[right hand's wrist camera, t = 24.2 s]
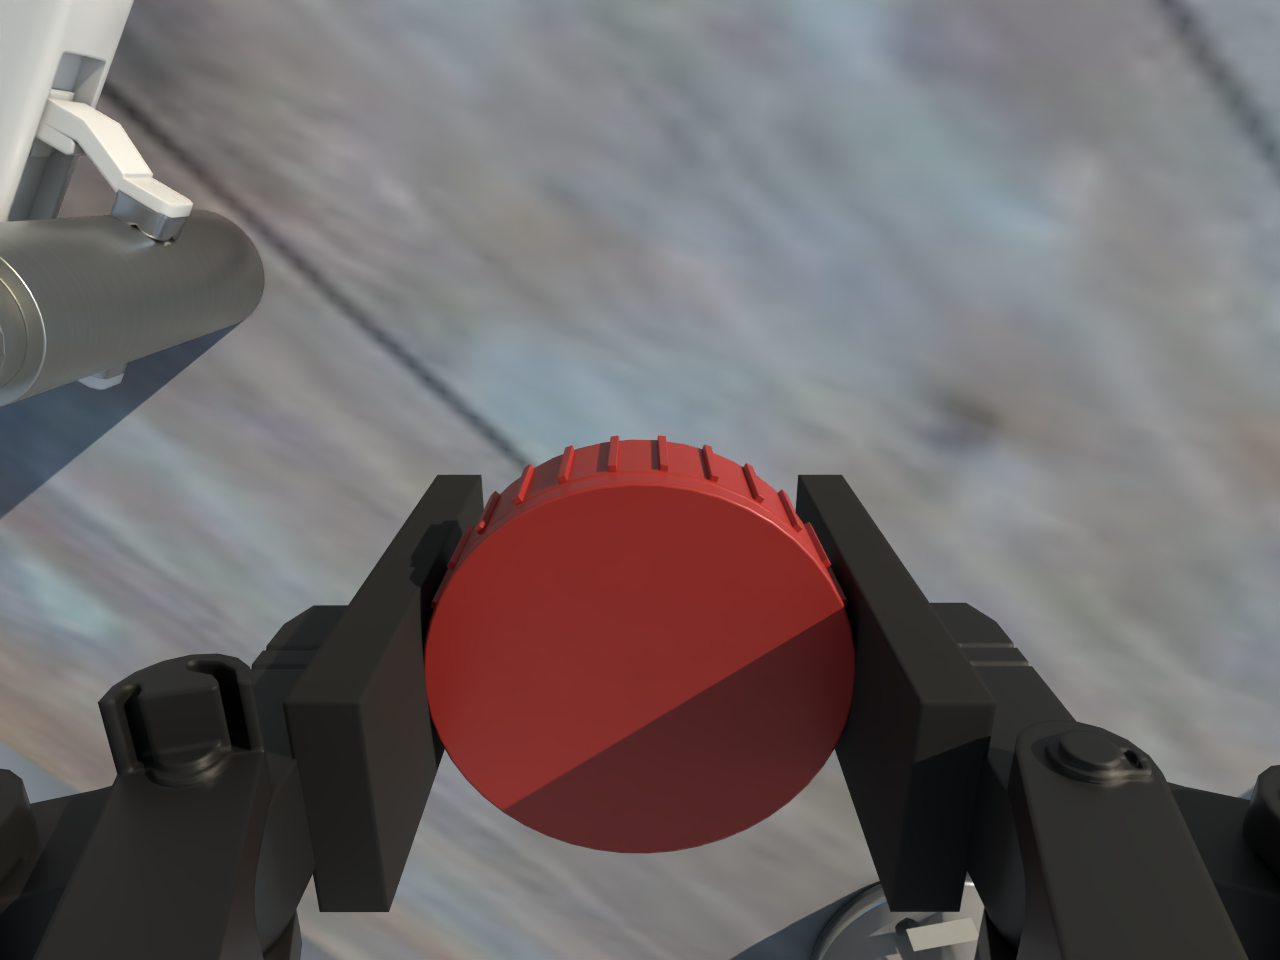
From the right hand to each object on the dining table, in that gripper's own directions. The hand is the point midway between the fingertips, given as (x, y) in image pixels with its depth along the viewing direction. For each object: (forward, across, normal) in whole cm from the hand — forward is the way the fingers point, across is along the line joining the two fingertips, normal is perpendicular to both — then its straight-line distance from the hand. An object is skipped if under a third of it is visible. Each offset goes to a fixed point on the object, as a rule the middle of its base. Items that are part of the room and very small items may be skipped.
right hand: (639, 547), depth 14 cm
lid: (-4, 0, 0) cm, 4 cm away
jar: (+24, +19, -2) cm, 31 cm away
